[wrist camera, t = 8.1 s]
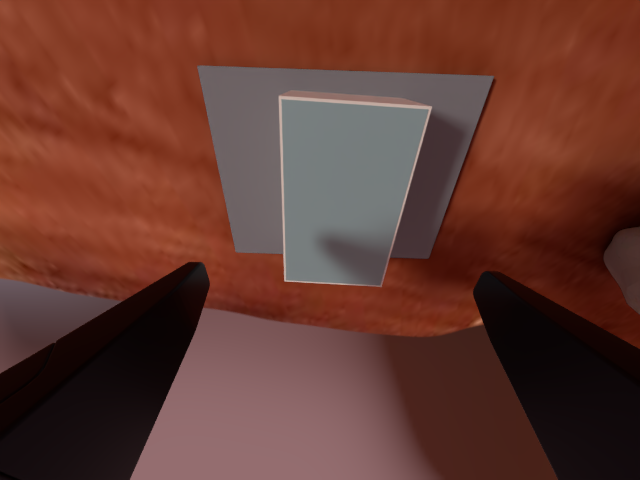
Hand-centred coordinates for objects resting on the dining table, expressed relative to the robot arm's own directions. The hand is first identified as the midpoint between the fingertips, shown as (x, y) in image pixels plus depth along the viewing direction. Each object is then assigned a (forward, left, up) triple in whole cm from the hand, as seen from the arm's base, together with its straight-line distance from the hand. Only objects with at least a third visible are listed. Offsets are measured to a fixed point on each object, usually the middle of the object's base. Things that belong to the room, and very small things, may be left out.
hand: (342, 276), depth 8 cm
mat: (0, 0, -8) cm, 9 cm away
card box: (0, 0, -8) cm, 8 cm away
